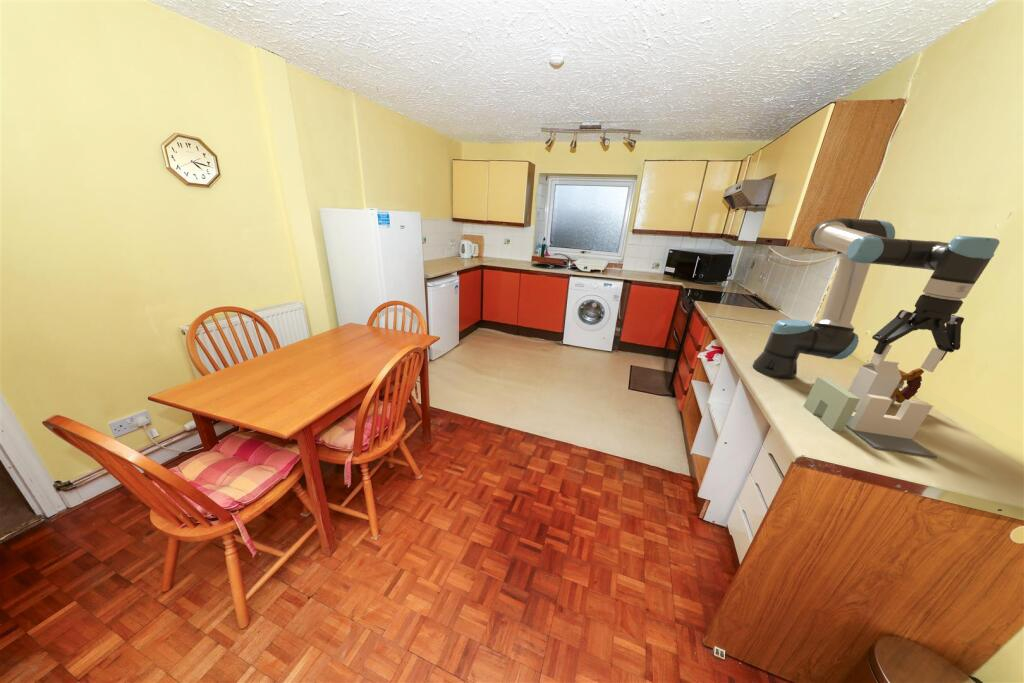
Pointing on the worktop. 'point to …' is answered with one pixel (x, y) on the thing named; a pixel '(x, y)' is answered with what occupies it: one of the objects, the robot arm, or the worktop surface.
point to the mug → (911, 388)
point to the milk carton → (875, 380)
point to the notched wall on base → (890, 425)
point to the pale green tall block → (831, 403)
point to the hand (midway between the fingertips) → (900, 367)
